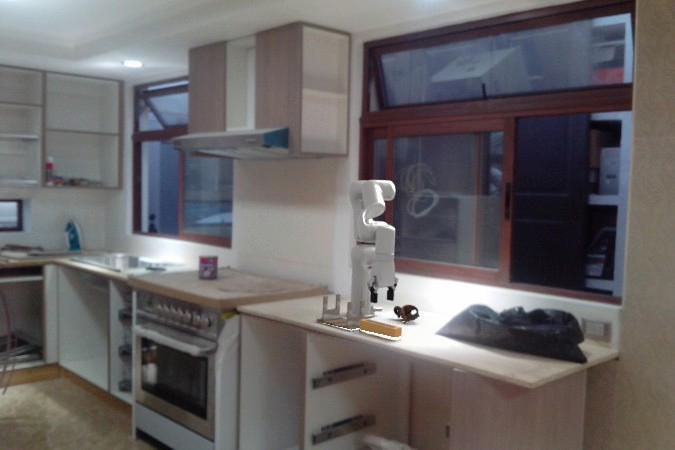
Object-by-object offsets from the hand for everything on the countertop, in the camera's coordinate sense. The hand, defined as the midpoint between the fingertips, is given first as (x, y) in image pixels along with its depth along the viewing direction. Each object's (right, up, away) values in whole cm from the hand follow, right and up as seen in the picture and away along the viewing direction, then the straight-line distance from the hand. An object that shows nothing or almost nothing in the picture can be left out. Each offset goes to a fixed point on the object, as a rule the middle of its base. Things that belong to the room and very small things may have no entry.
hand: (382, 301), depth 248 cm
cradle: (-15, -12, +16) cm, 25 cm away
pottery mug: (+12, -12, +29) cm, 34 cm away
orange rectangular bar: (-1, -14, +2) cm, 14 cm away
